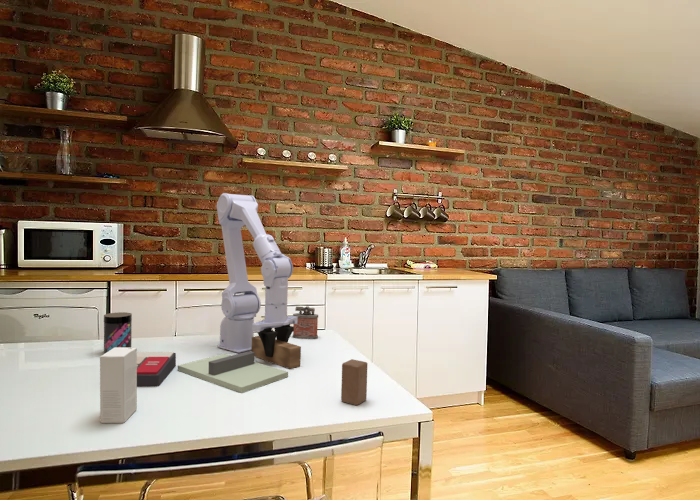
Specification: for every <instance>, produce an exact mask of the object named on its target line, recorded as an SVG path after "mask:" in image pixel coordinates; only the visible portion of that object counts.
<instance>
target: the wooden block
mask: <svg viewBox="0 0 700 500" xmlns="http://www.w3.org/2000/svg"><path fill="white" fill-rule="evenodd" d="M367 387H368V362H366V361H362V360H357V359H350V360H347V361H345V362H342V364H341V391H340V392H341V393H340V394H341V395H340V401H341V402H343V403H346V404H351V405H354V406H358V405H360V404H362V403H363V402H365V401H367V396H368V395H367V391H368V388H367Z"/></svg>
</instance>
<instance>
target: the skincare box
mask: <svg viewBox="0 0 700 500" xmlns="http://www.w3.org/2000/svg"><path fill="white" fill-rule="evenodd" d="M137 352H138V351H137V347H131V348H126V347H115V348H113V349H111V350H110V351H108V352H107V353H105V354H104V353H103V354H102V355H100V356H99V385H100V386H99V396H100V397H99V398H100V402H99V404H100V405H99V406H100V408H99V409H100V410H99V412H100V413H99V415H100V416H99V417H100V421H99V422H100V423H101V424H124V423H125V422H126V421H127V420H128V419H129V418H130V417H131V416H132V415H133V414H134V413H135V412H136V411H137V409H138V405H137V404H138V403H137V402H138V399H137V398H138V387H137Z"/></svg>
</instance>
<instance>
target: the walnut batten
mask: <svg viewBox="0 0 700 500" xmlns="http://www.w3.org/2000/svg"><path fill="white" fill-rule="evenodd" d="M250 351H251V352H254V353H255V358H257V359H260V360H263V361H267V362H268V363H271V364H275V365H278V366H280V367H283V368H287V369H289V370H291V369H294V368H295V369H296V368H298V367H301V363H302V362H301V361H302V360H301V357H302V356H301V355H302V353H301V352H302V346H299V345H297V344H293V343H290V342H288V343H287V342H284V341H280V340H277V339H275V344H274V354H273V357H267V356H266V355H265V351H264V347H263V343H262V341H261V339H260V337H259V335H256V336H255V335H254V337H252V347H251V350H250Z"/></svg>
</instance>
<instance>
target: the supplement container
mask: <svg viewBox="0 0 700 500" xmlns="http://www.w3.org/2000/svg"><path fill="white" fill-rule="evenodd" d="M132 315H133V313H131V312H123V311H122V312H119V311H118V312H110V313H105V314H104V315H103V354H105V353H107V352H108V351H110V350H111V349H113V348H115V347H126V348H132V342H133V341H132V338H133V337H132V332H133V331H132V328H133V327H132V325H133V324H132V320H133V317H132Z"/></svg>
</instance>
